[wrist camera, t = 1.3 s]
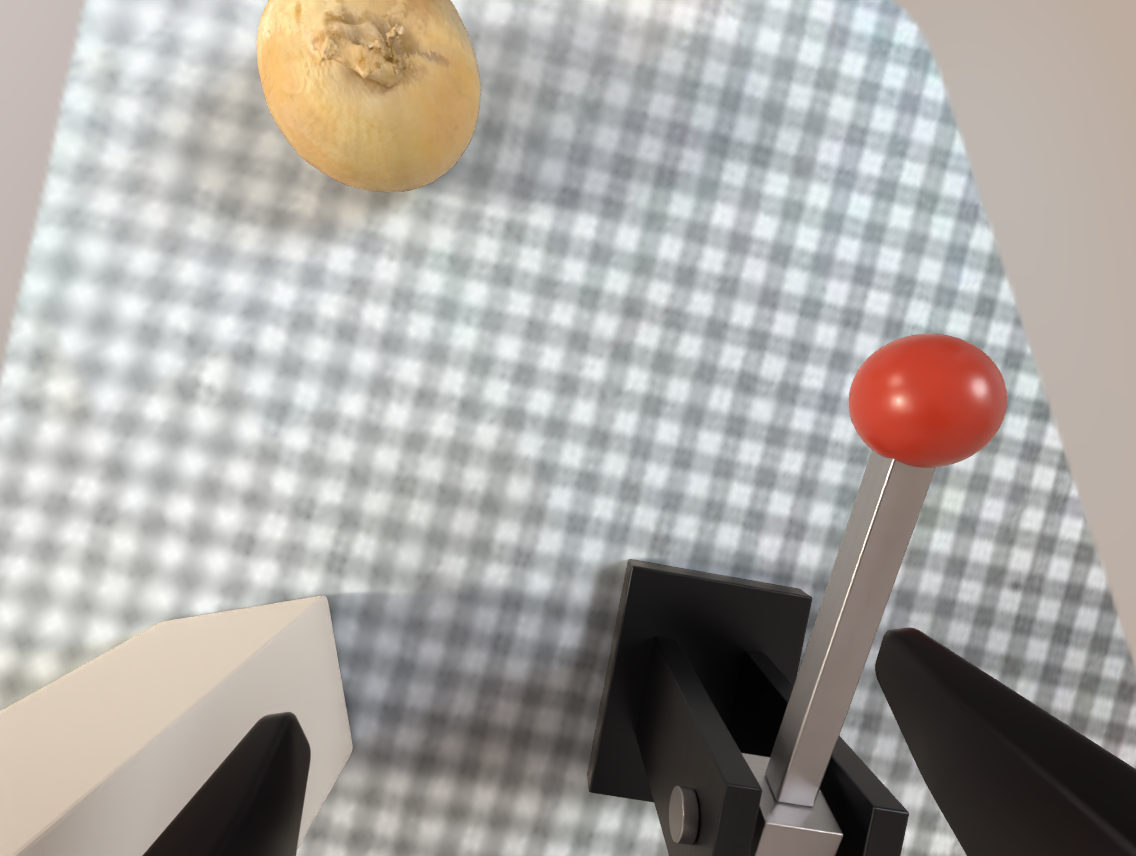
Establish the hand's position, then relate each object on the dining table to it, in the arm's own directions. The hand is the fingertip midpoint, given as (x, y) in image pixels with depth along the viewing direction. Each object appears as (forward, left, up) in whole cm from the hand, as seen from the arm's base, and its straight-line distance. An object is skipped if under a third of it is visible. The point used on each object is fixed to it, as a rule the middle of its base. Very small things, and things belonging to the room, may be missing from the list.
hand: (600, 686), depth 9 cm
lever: (+1, -7, -8) cm, 11 cm away
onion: (+13, +13, -17) cm, 25 cm away
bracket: (-5, -8, -17) cm, 19 cm away
